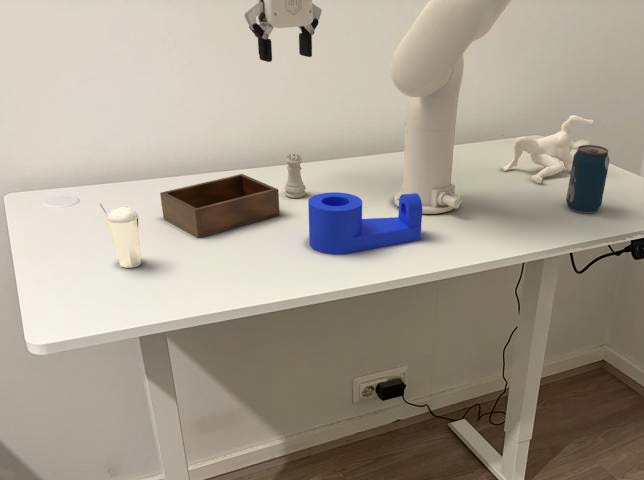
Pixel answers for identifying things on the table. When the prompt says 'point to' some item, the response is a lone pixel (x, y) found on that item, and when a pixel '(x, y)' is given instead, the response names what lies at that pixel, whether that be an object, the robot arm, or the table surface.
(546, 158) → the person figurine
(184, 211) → the crate
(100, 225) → the table surface
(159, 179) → the table surface
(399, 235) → the bracket
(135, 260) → the milkshake
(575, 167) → the soda can
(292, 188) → the rook chess piece
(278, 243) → the table surface
